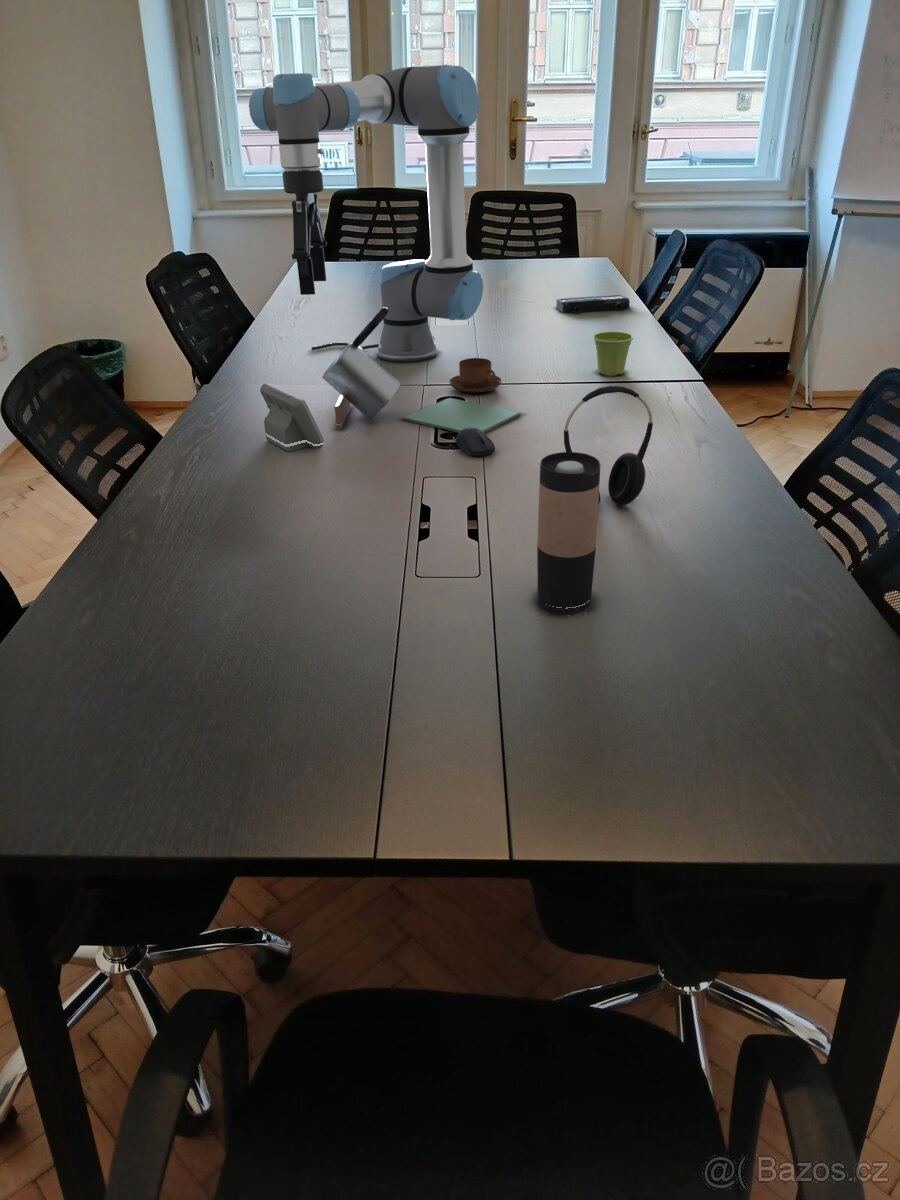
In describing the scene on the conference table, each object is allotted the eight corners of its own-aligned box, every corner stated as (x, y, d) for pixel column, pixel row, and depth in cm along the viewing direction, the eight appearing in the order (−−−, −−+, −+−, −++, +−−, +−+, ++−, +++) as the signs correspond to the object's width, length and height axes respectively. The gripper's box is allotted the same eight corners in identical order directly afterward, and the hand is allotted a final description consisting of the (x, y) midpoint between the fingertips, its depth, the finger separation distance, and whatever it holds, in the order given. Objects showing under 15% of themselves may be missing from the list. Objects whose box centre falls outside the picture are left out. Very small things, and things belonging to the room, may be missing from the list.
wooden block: (336, 429, 182) (334, 406, 180) (346, 408, 195) (344, 385, 192) (341, 429, 182) (339, 406, 180) (350, 408, 194) (348, 385, 192)
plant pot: (630, 378, 208) (632, 341, 203) (589, 377, 209) (591, 340, 205) (631, 367, 215) (633, 331, 211) (592, 366, 217) (594, 331, 213)
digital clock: (327, 450, 172) (322, 396, 167) (282, 458, 169) (275, 404, 163) (302, 426, 185) (296, 375, 179) (260, 433, 182) (252, 382, 176)
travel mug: (531, 589, 123) (534, 453, 112) (585, 585, 123) (593, 449, 113) (541, 617, 116) (545, 475, 106) (598, 613, 116) (607, 472, 106)
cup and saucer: (509, 384, 207) (509, 357, 203) (489, 399, 197) (489, 371, 194) (462, 379, 211) (462, 353, 208) (441, 393, 202) (440, 366, 199)
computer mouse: (473, 460, 165) (473, 439, 163) (450, 445, 173) (450, 425, 171) (499, 454, 168) (499, 434, 166) (475, 439, 175) (475, 420, 173)
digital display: (565, 303, 266) (556, 297, 274) (564, 314, 267) (555, 308, 276) (632, 298, 268) (621, 293, 277) (631, 309, 270) (620, 303, 279)
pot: (323, 426, 184) (310, 314, 173) (330, 411, 193) (319, 303, 181) (400, 425, 184) (392, 312, 172) (404, 409, 192) (397, 301, 181)
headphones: (655, 510, 144) (667, 389, 134) (568, 520, 142) (574, 398, 132) (636, 490, 151) (645, 374, 141) (553, 499, 149) (557, 382, 139)
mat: (403, 419, 186) (403, 417, 186) (449, 400, 197) (449, 397, 197) (476, 436, 176) (476, 433, 176) (520, 414, 187) (520, 412, 187)
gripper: (310, 174, 154) (322, 300, 165) (332, 163, 175) (341, 275, 186) (267, 175, 154) (282, 300, 165) (294, 164, 176) (306, 276, 187)
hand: (313, 287), depth 176 cm, fingers open, 13 cm apart
